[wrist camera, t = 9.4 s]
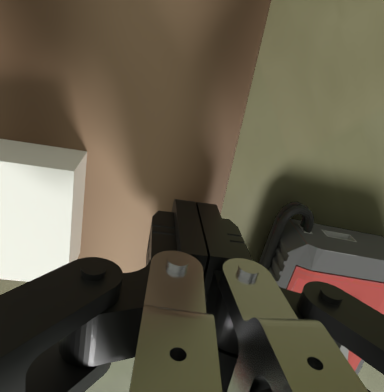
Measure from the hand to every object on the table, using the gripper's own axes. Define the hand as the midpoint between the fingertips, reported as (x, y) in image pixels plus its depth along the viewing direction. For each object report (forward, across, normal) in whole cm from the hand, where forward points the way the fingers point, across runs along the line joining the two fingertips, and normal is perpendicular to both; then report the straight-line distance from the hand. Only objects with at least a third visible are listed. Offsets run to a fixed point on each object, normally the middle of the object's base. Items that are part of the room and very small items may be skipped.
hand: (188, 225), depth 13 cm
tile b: (+1, +6, 0) cm, 6 cm away
